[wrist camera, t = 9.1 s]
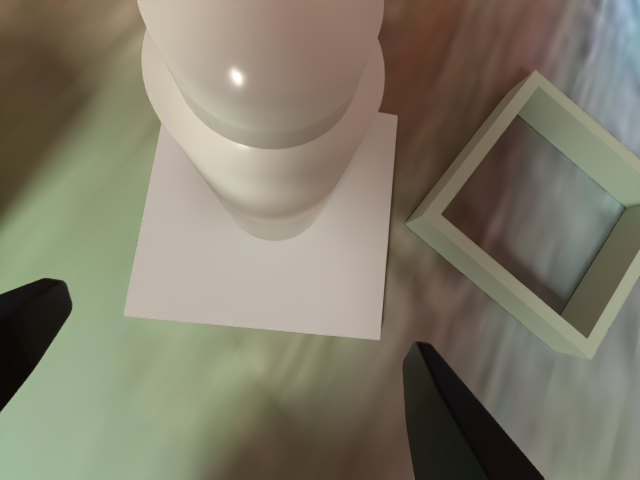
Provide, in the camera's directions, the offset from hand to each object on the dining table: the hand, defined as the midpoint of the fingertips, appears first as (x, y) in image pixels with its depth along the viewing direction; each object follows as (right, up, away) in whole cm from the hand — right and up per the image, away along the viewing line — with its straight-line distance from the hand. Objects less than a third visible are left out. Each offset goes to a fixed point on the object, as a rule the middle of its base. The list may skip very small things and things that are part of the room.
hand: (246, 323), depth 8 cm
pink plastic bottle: (-1, +5, +10) cm, 11 cm away
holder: (+16, +4, +13) cm, 21 cm away
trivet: (-1, +4, +11) cm, 12 cm away
